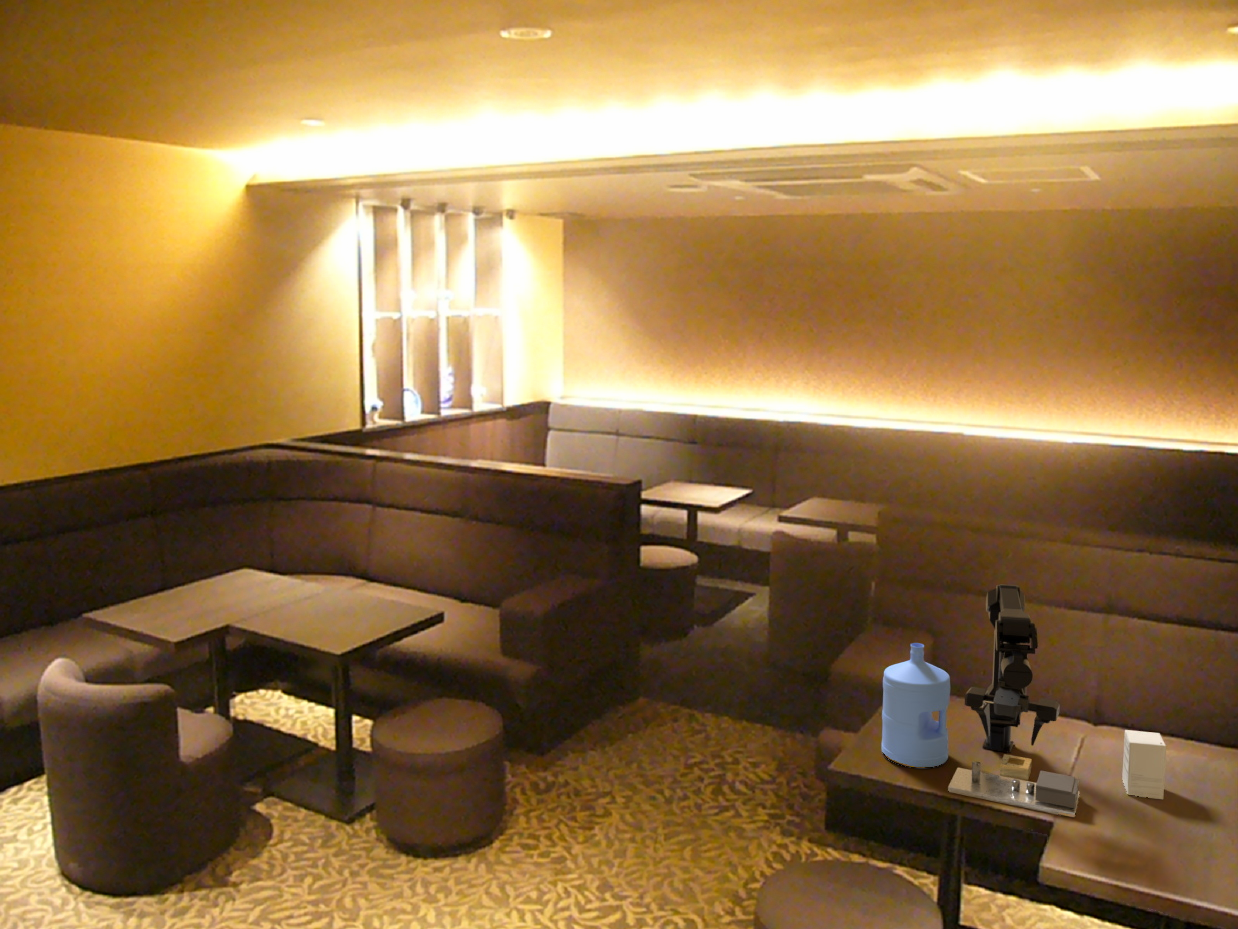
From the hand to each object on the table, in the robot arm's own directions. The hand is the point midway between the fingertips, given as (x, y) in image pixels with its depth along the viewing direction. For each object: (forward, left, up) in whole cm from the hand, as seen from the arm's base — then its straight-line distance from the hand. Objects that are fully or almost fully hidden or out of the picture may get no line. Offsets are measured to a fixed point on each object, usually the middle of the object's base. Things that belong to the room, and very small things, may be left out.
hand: (1010, 740), depth 216 cm
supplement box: (-18, +26, -14) cm, 34 cm away
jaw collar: (-14, 0, -13) cm, 19 cm away
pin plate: (-3, +1, -13) cm, 14 cm away
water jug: (-13, -23, -14) cm, 30 cm away
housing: (-3, +10, -12) cm, 16 cm away
